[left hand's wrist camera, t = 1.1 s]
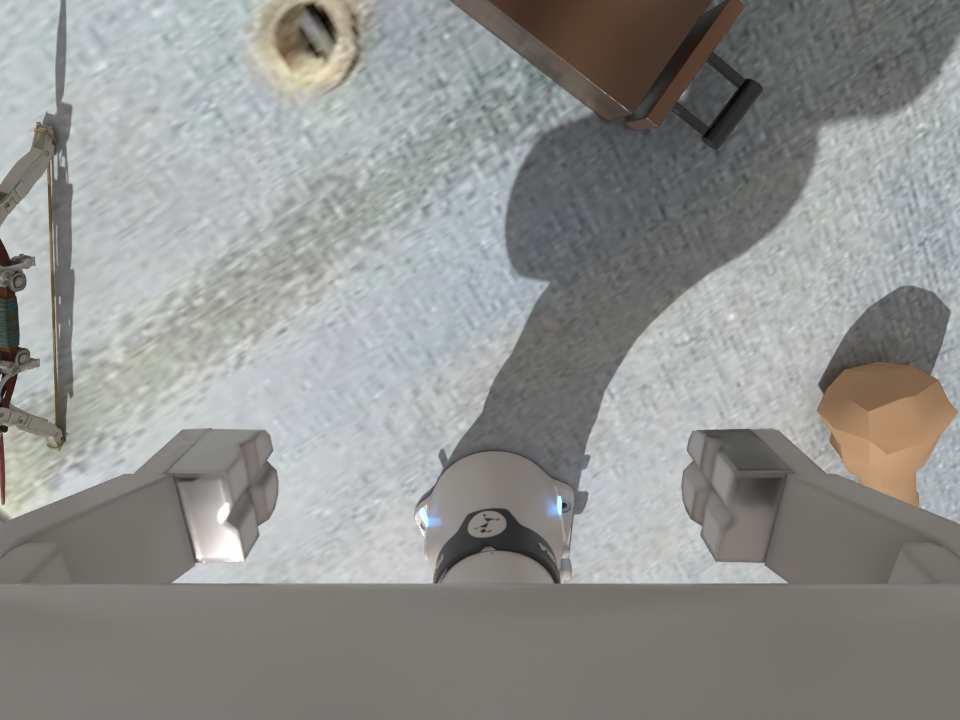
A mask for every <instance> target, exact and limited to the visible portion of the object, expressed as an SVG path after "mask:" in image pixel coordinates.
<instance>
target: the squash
mask: <svg viewBox="0 0 960 720" xmlns="http://www.w3.org/2000/svg"><path fill="white" fill-rule="evenodd" d="M817 412H818V413H819V415H820V416H821V418H822V419H823V421H824V422H825V423H826V425H827V426H828V428H829V429H830V431H831V437H830V443H831V445H832V446H833V447H834V449H835V450H836V451H837V452H838V454H839V455H840V457H841V459H842V461H843V463H844V465H845V466H846V468H847V470H848V471H849V472H851V473H853V474H855V475H857V476H858V478H859V480H860V484H861V485H864V486H866V487H869V488H871V489H874V490H876V491H879V492H881V493H884V494H886V495H889V496H891V497H894V498H896V499H899V500H901V501H904V502H906V503H909V504H911V505H914V506H916V507H918V506H919V494H918V492H917V491H916V475H915V473H916V471H917V470H919V469H920V468H922V467H923V466H924V464H925V463H926V461H927V459H928V458H929V456H930V455H931V453H932V451H933V450H934V448H935V446H936V444H937V442H938V440H939V438H940V436H941V434H942V433H943V432H944V430H945V429H946V428H947V426H948V425H949V424H950V422H951V421H952V420H953V419H954V417H955V416H956V415H957V413H958V411H957V410H956V409H955V408H954V407H953V406H952V404H951V403H950V402H949V401H948V399H947V397H946V394H945V392H944V390H943V388H942V386H941V384H940V381H939V380H938V379H936V378H934V377H932V376H931V375H929V374H927V373H925V372H924V371H922V370H920V369H918V368H917V367H915V366H910V365H902V364H893V363H885V362H875V363H871V364H866V365H862V366H858V367H853V368H849V369H845V370H844V371H843V372H842V373H841V374H840V375H839V376H838V377H837V378H836V379H835V380H834V381H833V382H832V384H831V385H830V386H829V387H828V388H827V390H826V392H825V394H824V396H823V398H822V400H821V402H820V405H819V407H818V409H817Z"/></svg>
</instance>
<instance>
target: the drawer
mask: <svg viewBox="0 0 960 720" xmlns="http://www.w3.org/2000/svg"><path fill="white" fill-rule="evenodd" d="M744 7H745V6H744V5H743V4H742V3H741V2H740V1H739V0H725V1H724V2H722V3H720V4H719V5H717V6H716V7H714V8H713V9H711V10H710V11H708V12H706V13H705V14H703V15H702V16H700V18H699V19H698V21H697V22H696V23H695V25H694V26H693V28H692V29H691V31H690V32H689V33H688V35H687V36H686V38H685V39H684V41H683V42H682V43H681V45H680V46H679V48H678V49H677V51H676V52H675V54H674V55H673V56H672V58H671V59H670V61H669V62H668V64H667V65H666V66H665V68H664V69H663V71H662V72H661V74H660V75H659V76H658V78H657V79H656V81H655V82H654V84H653V85H652V87H651V88H650V89H649V91H648V92H647V94H646V95H645V97H644V98H643V99H642V101H641V102H640V104H639V105H638V107H637V108H636V110H635V111H634V112H633V114H631V115H630V116H629V117H628V119H627V120H626V122H625V124H626V125H627V126H628V127H629V128H631V129H632V130H633V131H640V130H646V129H652V128H657V127H659V125H660V124H661V123H662V121H663V120H664V118H665V117H666V116H667V114H668V113H669V112H670V110H672V111H673V112H674V113H675V114H677V115H678V116H679V117H680V118H681V119H683V120H684V121H685V122H686V123H688V124H689V125H690V126H691V127H693V128H694V129H695V130H696V131H698V132H699V133H700V134H701V135H703V136H702V137H701V139H702V141H703V142H704V143H705V144H707V145H708V146H710V147H712V148H714V149H718V148H719V147H720V146H721V145H722V143H723V142H724V141H725V139H726V138H727V137H728V136H729V134H730V133H731V132H732V130H733V129H734V128H735V126H736V125H737V124H738V123H739V121H740V120H741V119H742V117H743V116H744V115H745V113H746V112H747V111H748V110H749V108H750V107H751V106H752V104H753V103H754V102H755V100H756V99H757V98H758V97H759V95H760V94H761V93H762V91H763V88H762V86H761V85H760V84H759V83H758V82H756V81H754V80H752V79H744V78H743V77H742V76H741V75H739V74H738V73H737V72H736V71H735V70H733V69H732V68H731V67H730V66H729V65H728V64H726V63H725V62H724V61H723V60H722V59H721V58H719V57H718V56H717V55H716V54H715V53H714V52H713V50H714V49H715V48H716V46H717V45H718V43H719V42H720V41H721V39H722V38H723V36H724V35H725V34H726V32H727V31H728V29H729V28H730V27H731V25H732V24H733V23H734V21H735V20H736V18H737V17H738V16H739V14H740V13H741V11H742V10H743V9H744ZM705 61H707V62H708V63H709V64H710V65H711V66H712V67H714V68H715V69H716V70H717V71H718V72H720V73H721V74H722V75H723V76H724V77H725V78H727V79H728V80H729V81H730V82H731V83H733V84H734V85H735V86H736V87H737V88H738V87H739V88H738V89H737V90H736V92H735V93H734V94H733V96H732V97H731V98H730V100H729V101H728V102H727V104H726V105H725V106H724V108H723V109H722V110H721V112H720V113H719V114H718V116H717V117H716V118H715V120H714V121H713V122H712V124H711V125H710V126H709V128H708V127H707V126H706V125H705V124H704V123H702V122H701V121H700V120H699V119H697V118H696V117H695V116H694V115H692V114H691V113H690V112H689V111H687V110H686V109H685V108H684V107H683V106H681V105H680V104H679V103H678V102H677V100H678V99H679V98H680V96H681V95H682V93H683V92H684V91H685V89H686V88H687V86H688V85H689V84H690V82H691V81H692V80H693V78H694V77H695V75H696V74H697V73H698V71H699V70H700V68H701V67H702V66H703V64H704V63H705Z"/></svg>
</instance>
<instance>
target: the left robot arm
mask: <svg viewBox="0 0 960 720" xmlns="http://www.w3.org/2000/svg"><path fill="white" fill-rule="evenodd" d="M272 452H273V447H272V442H271V437H270V435H269V434H268V432H267V431H266V430H241V429H211V428H208V429H185V430H182V431H180V432H179V433H178V434H177V435H176V436H175V437H174V438H173V439H172V440H170V441H169V442H168V443H167V444H166V445H165V446H164V447H163V448H162V449H160V450H159V451H158V452H157V453H156V454H155V455H154V456H153V457H152V458H150V459H149V460H148V461H147V462H146V463H145V464H144V465H143V466H142V467H140V468H139V469H138V470H137V471H136V472H135V473H134V474H123V475H121V476H118V477H116V478H113V479H111V480H108V481H106V482H103V483H101V484H98V485H96V486H94V487H91V488H89V489H86V490H84V491H81V492H79V493H76V494H74V495H71V496H69V497H66V498H64V499H61V500H59V501H56V502H54V503H51V504H49V505H46V506H44V507H41V508H39V509H36V510H34V511H31V512H29V513H26V514H24V515H21V516H19V517H16V518H14V519H11V520H9V521H6V522H4V523H1V524H0V720H960V524H958V523H956V522H953V521H951V520H948V519H946V518H943V517H941V516H938V515H936V514H933V513H931V512H928V511H926V510H924V509H921V508H919V507H916V506H914V505H911V504H909V503H906V502H904V501H901V500H899V499H896V498H894V497H891V496H889V495H886V494H884V493H881V492H879V491H876V490H874V489H871V488H869V487H866V486H864V485H861V484H859V483H856V482H854V481H852V480H849V479H847V478H844V477H842V476H839V475H837V474H826V473H825V472H824V471H823V470H822V469H821V468H820V467H818V466H817V465H816V464H815V463H814V462H813V461H812V460H811V459H810V458H809V457H807V456H806V455H805V454H804V453H803V452H802V451H801V450H800V449H799V448H797V447H796V446H795V445H794V444H793V443H792V442H791V441H790V440H789V439H788V438H786V437H785V436H784V435H783V434H782V433H781V432H780V431H779V430H775V429H772V428H767V429H725V430H697V431H692V433H691V435H690V438H689V441H688V446H687V452H688V453H689V455H690V456H691V458H692V460H693V461H692V462H691V463H690V464H689V465H688V466H687V467H686V468H685V469H684V470H683V477H682V485H681V487H682V498H683V502H684V506H685V509H686V511H687V513H688V515H689V516H690V518H691V519H692V520H693V521H695V522H696V523H698V524H700V525H701V526H702V530H701V537H702V539H703V541H704V542H705V544H706V546H707V547H708V549H709V551H710V552H711V554H712V556H713V557H714V559H715V561H716V562H753V563H765V566H767V567H768V568H769V569H771V570H772V571H773V572H775V573H776V574H777V575H779V576H780V577H781V578H783V579H784V580H785V581H787V582H788V583H789V584H565V580H571V578H572V568H571V561H570V559H568V556H569V555H570V549H569V542H570V534H571V525H572V516H573V508H574V499H575V497H574V490H573V489H572V487H570V486H569V485H567V484H565V483H563V482H560V481H558V480H555V479H552V478H551V477H549V476H548V475H547V474H546V473H545V472H544V471H543V470H542V469H541V468H540V467H539V466H537V465H536V464H535V463H533V462H532V461H530V460H528V459H527V458H525V457H522V456H520V455H517V454H513V453H509V452H503V451H486V452H480V453H475V454H472V455H469V456H467V457H464V458H462V459H460V460H459V461H457V462H455V463H454V464H453V465H451V466H450V467H449V468H448V469H447V470H446V471H445V472H444V473H443V474H442V476H441V477H440V478H439V480H438V482H437V484H436V486H435V488H434V490H433V492H432V493H431V495H430V496H429V497H427V498H426V499H425V500H423V501H422V502H421V503H420V504H419V505H418V506H417V507H416V509H415V520H416V522H417V524H418V526H419V528H420V530H421V532H422V534H423V536H424V538H425V541H424V557H425V559H427V560H428V561H429V564H430V566H431V567H432V569H433V571H434V577H433V584H319V583H172V582H173V581H175V580H176V579H177V578H179V577H180V576H181V575H183V574H184V573H185V572H187V571H188V570H190V569H191V568H192V567H194V566H195V563H207V562H243V561H245V559H246V557H247V556H248V554H249V552H250V551H251V549H252V547H253V546H254V544H255V542H256V541H257V539H258V537H259V530H258V526H259V525H260V524H262V523H264V522H265V521H267V520H268V519H269V518H270V516H271V515H272V513H273V511H274V509H275V506H276V501H277V497H278V476H277V470H276V469H275V468H274V467H273V466H272V465H271V464H270V463H269V462H268V461H267V460H268V458H269V456H270V455H271V453H272ZM562 503H566V504H564V505H562Z"/></svg>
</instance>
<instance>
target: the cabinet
mask: <svg viewBox="0 0 960 720" xmlns="http://www.w3.org/2000/svg"><path fill="white" fill-rule="evenodd" d="M450 1H451V2H452V3H454V4H455V5H456V6H458V7H459V8H460V9H461V10H463V11H464V12H465V13H467V14H468V15H469V16H470V17H472V18H473V19H474V20H476V21H477V22H478V23H480V24H481V25H482V26H483V27H485V28H486V29H487V30H489V31H490V32H491V33H492V34H494V35H495V36H496V37H498V38H499V39H500V40H501V41H503V42H504V43H505V44H507V45H508V46H509V47H511V48H512V49H513V50H514V51H516V52H517V53H518V54H520V55H521V56H522V57H523V58H525V59H526V60H527V61H529V62H530V63H531V64H533V65H534V66H535V67H536V68H538V69H539V70H540V71H542V72H543V73H544V74H545V75H547V76H548V77H549V78H551V79H552V80H553V81H554V82H556V83H557V84H558V85H560V86H561V87H562V88H564V89H565V90H566V91H567V92H569V93H570V94H571V95H573V96H574V97H575V98H576V99H578V100H579V101H580V102H582V103H583V104H584V105H586V106H587V107H588V108H589V109H591V110H592V111H593V112H595V113H596V114H597V115H598V116H600V117H601V118H602V119H604V120H605V121H611V120H615V119H618V118H621V117H625V116H628V115H631V114H633V112H634V111H635V110H636V108H637V107H638V105H639V104H640V102H641V101H642V99H643V98H644V97H645V95H646V94H647V92H648V91H649V89H650V88H651V87H652V85H653V84H654V82H655V81H656V79H657V78H658V76H659V75H660V74H661V72H662V71H663V69H664V68H665V66H666V65H667V64H668V62H669V61H670V59H671V58H672V56H673V55H674V54H675V52H676V51H677V49H678V48H679V46H680V45H681V43H682V42H683V41H684V39H685V38H686V36H687V35H688V33H689V32H690V31H691V29H692V28H693V26H694V25H695V23H696V22H697V21H698V19H699V18H700V16H701V15H702V13H703V12H704V10H705V9H706V8H707V6H708V5H709V3H710V2H711V0H450Z"/></svg>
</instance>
